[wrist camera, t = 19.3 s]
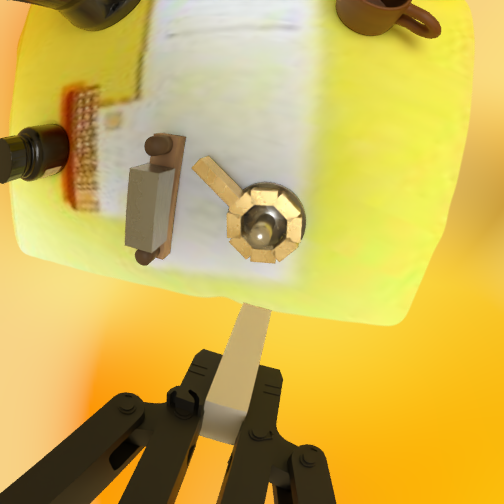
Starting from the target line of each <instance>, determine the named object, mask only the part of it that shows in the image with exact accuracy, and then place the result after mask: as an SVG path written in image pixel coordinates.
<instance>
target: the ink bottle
mask: <svg viewBox="0 0 504 504" xmlns="http://www.w3.org/2000/svg"><path fill="white" fill-rule="evenodd" d="M68 149H69V145H68V138H67V135H66V133H65V131H64V130H63V129H62V128H61V127H60V126H58V125H55V124H49V125H40V126H32V127H27V128H24V129H23V130H21V131H20V132H19V134H18V135H17V136H10V137H5V138H1V139H0V183H2V184H4V183H7V182H10V181H13V180H16V179H18V178H21V179H23V180H25V181H34V180H37V179H41V178H44V177H47V176H50V175H54V174H56V173H58V172H60V171H61V170H62V169H63V167H64V165H65V163H66V160H67V157H68Z"/></svg>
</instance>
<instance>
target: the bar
mask: <svg viewBox="0 0 504 504" xmlns="http://www.w3.org/2000/svg"><path fill="white" fill-rule="evenodd" d="M174 175H175V168H171V167H166V166H161V165H155V164H150V163H147V164H143V165H140V166H136V167H132V168H130V173H129V183H128V195H127V210H126V229H125V245H126V246H129V247H133V248H136V249H139V250H142V251H146V252H149V253H152V252H154V251H155V250H156V249H157V248H158V247H159V246H161V245H162V244H163V243H164V242H165V241H167V231H168V222H169V213H170V205H171V197H172V189H173V182H174Z"/></svg>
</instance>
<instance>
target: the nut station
mask: <svg viewBox="0 0 504 504" xmlns="http://www.w3.org/2000/svg"><path fill="white" fill-rule="evenodd" d="M254 187H257V188H278V189H279V194H280V193H281V192H283V191H284V192H285V193H286V194H287V195H288V196H289V197H290V198H291V199H292V200H293V201H294V202H295V203H296V205H297V206H298V207H299V208H300V209H301V214H302V227H301V239H302V238H303V235H304V232H305V226H306V216H305V211H304V208H303V206H302V204H301V202H300V200H299V199H298V197H297V196H296V195H295V194H294V193H293V192H292V191H291V190H289V189H288V188H286V187H284V186H282V185H279V184H276V183H271V182H261V183H256V184H253V185H250V186H249V187H247V188H245V189H244V190H243V191H244V192H245V193H246V192H247V191H248V190H249V189H250V190H252V189H253V188H254ZM244 231H245V232H246V233H247V234H248V242H249V244H250V245H251V246H252V247H254V248H256V249H263V248H265V247H266V246H267V245H268V244H273V245H274V244H276V243H277V242H278V241H279V240H280V239H282V238H283V237H284V236H285V235H286V234H287V219H286V218H285V217H284V216H283V215H282V214H281V213H280V212H279V211H278V210H277V209H276V208H275V206H268V205H253V206H252V207H251V208H250V209H249V210H248V211H247V212H246V213H245V214H244Z"/></svg>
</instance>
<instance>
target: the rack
mask: <svg viewBox="0 0 504 504" xmlns="http://www.w3.org/2000/svg"><path fill="white" fill-rule="evenodd" d="M185 140H186V137H184V136H178V135H172V134H165V133H158V134H154V136H152V137H149V138H148V139H147V140H146V142H145V151H146V153H147V154H148V155H150V156H151V157H150V164H155V165H161V166H166V167H171V168H175V175H174V182H173V189H172V197H171V205H170V213H169V222H168V231H167V241H165V242H164V243H163V244H162V245H161V246H159V247H158V248H157V249H156V250H155V251H154V252H152V253H149V252H146V251H142V250H139V249H138V250H137V251H136V253H135V258H136V260H137V262H138V263H139V264H141V265H148V264H149V263H150V262H151V261H152V260H153V259H155V258H159V259H164V258H165V257H166V256H167V255H168V254H169V253H170V249H171V240H172V230H173V222H174V213H175V206H176V198H177V191H178V184H179V177H180V170H181V164H182V158H183V152H184V146H185Z"/></svg>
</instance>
